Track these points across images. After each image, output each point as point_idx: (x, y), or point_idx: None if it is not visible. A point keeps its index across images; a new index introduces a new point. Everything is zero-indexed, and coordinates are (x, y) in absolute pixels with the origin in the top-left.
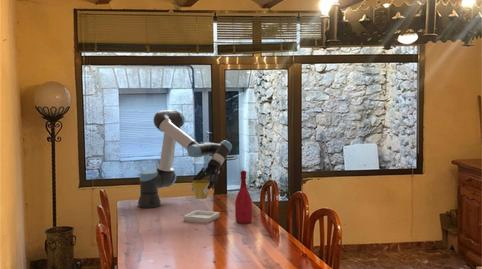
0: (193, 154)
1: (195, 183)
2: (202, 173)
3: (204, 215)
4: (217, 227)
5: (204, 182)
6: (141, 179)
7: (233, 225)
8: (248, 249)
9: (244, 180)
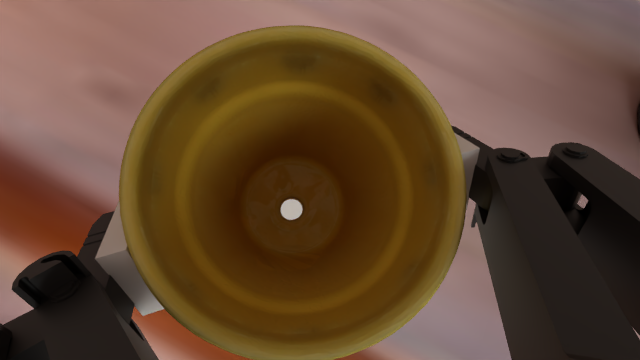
0: None
1: (251, 34)
2: (630, 343)
3: None
4: (57, 203)
5: (385, 294)
6: None
7: (21, 313)
8: None
9: None
